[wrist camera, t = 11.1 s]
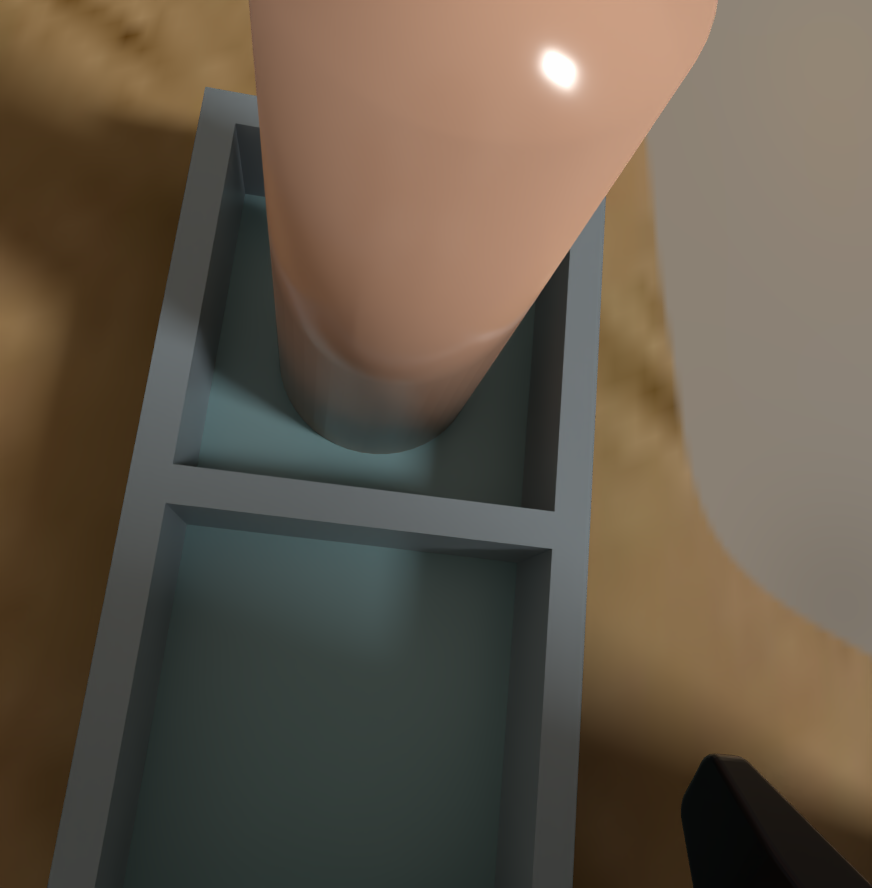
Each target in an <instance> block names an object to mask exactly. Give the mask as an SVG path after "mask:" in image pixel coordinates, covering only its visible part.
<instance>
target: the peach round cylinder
mask: <svg viewBox="0 0 872 888" xmlns="http://www.w3.org/2000/svg"><path fill="white" fill-rule="evenodd" d="M717 2H718V0H249V7H250V19H251V31H252V43H253V55H254V67H255V79H256V91H257V103H258V115H259V127H260V139H261V151H262V163H263V175H264V187H265V199H266V211H267V223H268V235H269V247H270V259H271V271H272V283H273V295H274V307H275V319H276V331H277V343H278V355H279V366H280V374H281V378H282V382H283V386H284V389H285V391H286V393H287V396H288V398H289V400H290V402H291V403H292V405H293V407H294V408H295V410H296V412H297V413H298V414H299V415H300V417H301V418H302V419H303V420H304V421H305V422H306V423H307V424H308V425H309V426H310V427H311V428H312V429H313V430H314V431H316V432H317V433H318V434H320V435H321V436H322V437H324V438H325V439H327V440H329V441H331V442H333V443H334V444H336V445H339V446H341V447H344V448H346V449H349V450H353V451H357V452H361V453H369V454H392V453H399V452H403V451H407V450H411V449H414V448H416V447H419V446H421V445H424V444H425V443H427V442H429V441H431V440H432V439H434V438H436V437H437V436H438V435H440V434H441V433H442V432H443V431H445V430H446V429H447V428H448V427H449V426H450V425H451V424H452V423H453V422H454V420H455V419H456V417H457V416H458V415H459V413H460V412H461V411H462V409H463V408H464V406H465V405H466V403H467V402H468V400H469V399H470V397H471V396H472V394H473V393H474V391H475V390H476V388H477V387H478V385H479V384H480V382H481V381H482V379H483V378H484V376H485V375H486V373H487V372H488V370H489V369H490V367H491V366H492V364H493V363H494V361H495V360H496V358H497V357H498V355H499V354H500V352H501V351H502V349H503V348H504V346H505V345H506V343H507V342H508V341H509V339H510V338H511V336H512V335H513V333H514V332H515V330H516V329H517V327H518V326H519V324H520V323H521V321H522V320H523V318H524V317H525V315H526V314H527V312H528V311H529V309H530V308H531V306H532V305H533V303H534V302H535V300H536V299H537V297H538V296H539V294H540V293H541V291H542V290H543V288H544V287H545V285H546V284H547V282H548V281H549V279H550V278H551V276H552V275H553V273H554V272H555V270H556V269H557V267H558V266H559V264H560V263H561V261H562V260H563V258H564V257H565V256H566V254H567V253H568V251H569V250H570V248H571V247H572V245H573V244H574V242H575V241H576V239H577V238H578V236H579V235H580V233H581V232H582V230H583V229H584V227H585V226H586V224H587V223H588V221H589V220H590V218H591V217H592V215H593V214H594V212H595V211H596V209H597V208H598V206H599V205H600V203H601V202H602V200H603V199H604V197H605V196H606V194H607V193H608V191H609V190H610V188H611V187H612V185H613V184H614V182H615V181H616V179H617V178H618V176H619V175H620V173H621V172H622V171H623V169H624V168H625V166H626V165H627V163H628V162H629V160H630V159H631V157H632V156H633V154H634V153H635V151H636V150H637V148H638V147H639V145H640V144H641V142H642V141H643V139H644V138H645V136H646V135H647V133H648V132H649V130H650V128H651V127H652V126H653V124H654V122H655V121H656V120H657V118H658V117H659V115H660V114H661V112H662V111H663V109H664V108H665V106H666V105H667V103H668V102H669V100H670V99H671V97H672V96H673V94H674V93H675V91H676V90H677V88H678V87H679V86H680V84H681V83H682V81H683V79H684V78H685V77H686V75H687V73H688V72H689V71H690V69H691V68H692V66H693V65H694V63H695V62H696V60H697V58H698V56H699V54H700V52H701V50H702V48H703V47H704V44H705V43H706V41H707V39H708V36H709V33H710V30H711V27H712V24H713V21H714V18H715V14H716V8H717Z"/></svg>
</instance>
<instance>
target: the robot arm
mask: <svg viewBox="0 0 872 888" xmlns="http://www.w3.org/2000/svg"><path fill="white" fill-rule="evenodd" d="M681 818H682V825H683V831H684V836H685V842H686V848H687V853H688V859H689V865H690V870H691V876H692V882H693V888H872V885H871V884H870V883H869V882H868V881H867V880H866V879H865V878H864V877H863V876H862V875H861V874H860V873H859V872H858V871H857V870H856V869H855V868H854V867H853V866H852V865H851V864H850V863H849V862H848V861H847V860H846V859H845V858H844V857H843V856H842V855H841V854H840V853H839V852H838V851H837V850H836V849H835V848H834V847H833V846H832V845H831V844H830V843H829V842H828V841H827V840H826V839H825V838H824V837H823V836H822V835H821V834H820V833H819V832H818V831H817V830H816V829H815V828H814V827H813V826H812V825H811V824H810V823H809V822H808V821H807V820H806V819H805V818H804V817H803V816H802V815H801V814H800V813H799V812H798V811H797V810H796V809H795V808H794V807H793V806H792V805H791V804H790V803H789V802H788V801H787V800H786V799H785V798H784V797H783V796H782V795H781V794H780V793H779V792H778V791H777V790H776V789H775V788H774V787H773V786H772V785H771V784H770V783H769V782H768V781H767V780H766V779H765V778H764V777H763V776H762V775H761V774H760V773H759V772H758V771H757V770H756V769H755V768H754V767H753V766H752V765H751V764H750V763H749V762H748V761H746V760H745V759H743V758H742V757H739V756H734V755H723V754H709V755H708V756H706V757H705V758H704V759H703V760H702V762H701V764H700V766H699V768H698V770H697V772H696V773H695V775H694V777H693V779H692V781H691V783H690V785H689V787H688V789H687V791H686V793H685V794H684V797H683V800H682V805H681Z"/></svg>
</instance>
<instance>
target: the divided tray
mask: <svg viewBox="0 0 872 888" xmlns="http://www.w3.org/2000/svg"><path fill="white" fill-rule="evenodd" d="M605 202H606V196H605V197H604V199H603V200H602V202H601V203H600V205H599V206H598V208H597V209H596V211H595V212H594V214H593V215H592V217H591V218H590V220H589V221H588V223H587V224H586V226H585V227H584V229H583V230H582V232H581V233H580V235H579V236H578V238H577V239H576V241H575V242H574V244H573V245H572V247H571V248H570V250H569V251H568V253H567V254H566V256H565V257H564V258H563V260H562V261H561V263H560V264H559V266H558V267H557V269H556V270H555V272H554V273H553V275H552V276H551V278H550V279H549V281H548V282H547V284H546V285H545V287H544V288H543V290H542V291H541V293H540V294H539V296H538V297H537V299H536V300H535V302H534V303H533V305H532V306H531V308H530V309H529V311H528V312H527V314H526V315H525V317H524V318H523V320H522V321H521V323H520V324H519V326H518V327H517V329H516V330H515V332H514V333H513V335H512V336H511V338H510V339H509V341H508V342H507V343H506V345H505V346H504V348H503V349H502V351H501V352H500V354H499V355H498V357H497V358H496V360H495V361H494V363H493V364H492V366H491V367H490V369H489V370H488V372H487V373H486V375H485V376H484V378H483V379H482V381H481V382H480V384H479V385H478V387H477V388H476V390H475V391H474V393H473V394H472V396H471V397H470V399H469V400H468V402H467V403H466V405H465V406H464V408H463V409H462V411H461V412H460V413H459V415H458V416H457V417H456V419H455V420H454V422H453V423H452V424H451V425H450V426H449V427H448V428H447V429H446V430H445V431H443V432H442V433H441V434H440V435H438V436H437V437H436V438H434V439H432V440H431V441H429V442H427V443H425V444H424V445H421V446H419V447H416V448H414V449H411V450H407V451H403V452H399V453H392V454H369V453H361V452H357V451H353V450H349V449H346V448H344V447H341V446H339V445H336V444H334V443H333V442H331V441H329V440H327V439H325V438H324V437H322V436H321V435H320V434H318V433H317V432H316V431H314V430H313V429H312V428H311V427H310V426H309V425H308V424H307V423H306V422H305V421H304V420H303V419H302V418H301V417H300V415H299V414H298V413H297V412H296V410H295V408H294V407H293V405H292V403H291V402H290V400H289V398H288V396H287V393H286V391H285V389H284V386H283V382H282V378H281V374H280V366H279V355H278V343H277V331H276V319H275V307H274V295H273V283H272V271H271V259H270V247H269V235H268V223H267V211H266V199H265V187H264V175H263V163H262V151H261V139H260V127H259V115H258V103H257V96H253V95H248V94H242V93H237V92H231V91H226V90H220V89H215V88H209V87H205V92H204V97H203V102H202V107H201V112H200V117H199V122H198V127H197V132H196V137H195V142H194V147H193V152H192V158H191V163H190V168H189V173H188V178H187V183H186V188H185V193H184V198H183V203H182V208H181V213H180V218H179V223H178V228H177V233H176V238H175V244H174V249H173V254H172V259H171V264H170V269H169V274H168V279H167V284H166V289H165V294H164V299H163V304H162V309H161V314H160V319H159V324H158V329H157V335H156V340H155V345H154V350H153V355H152V360H151V365H150V370H149V375H148V380H147V385H146V390H145V395H144V400H143V405H142V410H141V415H140V421H139V426H138V431H137V436H136V441H135V446H134V451H133V456H132V461H131V466H130V471H129V476H128V481H127V486H126V491H125V496H124V501H123V507H122V512H121V517H120V522H119V527H118V532H117V537H116V542H115V547H114V552H113V557H112V562H111V567H110V572H109V577H108V582H107V587H106V592H105V598H104V603H103V608H102V613H101V618H100V623H99V628H98V633H97V638H96V643H95V648H94V653H93V658H92V663H91V668H90V673H89V678H88V684H87V689H86V694H85V699H84V704H83V709H82V714H81V719H80V724H79V729H78V734H77V739H76V744H75V749H74V754H73V759H72V764H71V770H70V775H69V780H68V785H67V790H66V795H65V800H64V805H63V810H62V815H61V820H60V825H59V830H58V835H57V840H56V845H55V850H54V855H53V861H52V866H51V871H50V876H49V881H48V886H47V888H572V887H573V867H574V846H575V825H576V804H577V784H578V763H579V742H580V721H581V701H582V680H583V659H584V638H585V618H586V597H587V576H588V555H589V534H590V514H591V493H592V472H593V451H594V431H595V410H596V389H597V368H598V348H599V327H600V306H601V285H602V264H603V244H604V223H605Z"/></svg>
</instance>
